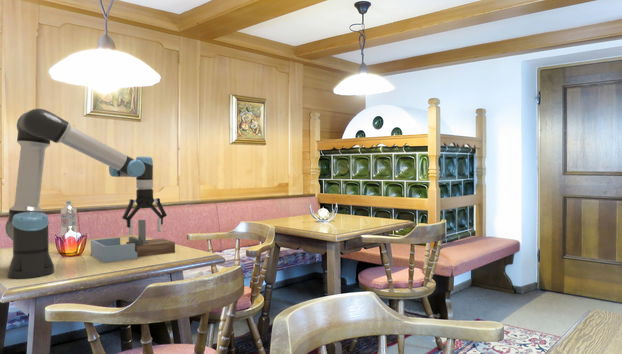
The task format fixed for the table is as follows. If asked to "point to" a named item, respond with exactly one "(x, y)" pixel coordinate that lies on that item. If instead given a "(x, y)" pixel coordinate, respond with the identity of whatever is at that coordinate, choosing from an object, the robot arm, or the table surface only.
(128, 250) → the box
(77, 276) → the table surface
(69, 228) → the water bottle
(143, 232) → the scraper
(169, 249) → the brown wooden block
